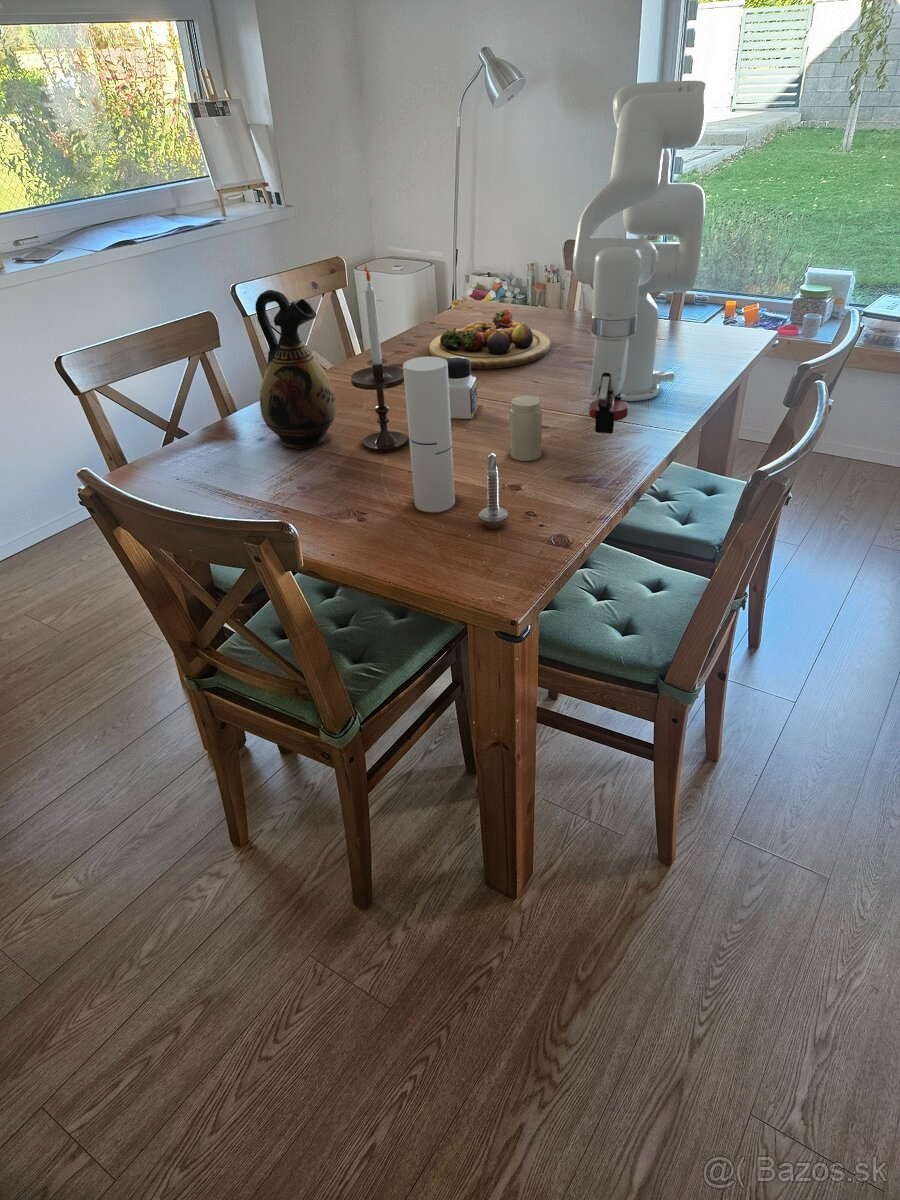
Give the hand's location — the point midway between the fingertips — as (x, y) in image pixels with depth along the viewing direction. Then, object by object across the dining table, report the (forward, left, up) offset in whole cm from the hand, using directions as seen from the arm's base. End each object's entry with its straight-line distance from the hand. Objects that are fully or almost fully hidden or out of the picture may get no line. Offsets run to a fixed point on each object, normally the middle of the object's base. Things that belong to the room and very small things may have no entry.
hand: (607, 424), depth 150 cm
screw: (+26, +17, -8) cm, 32 cm away
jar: (+13, -9, -8) cm, 18 cm away
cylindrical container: (+34, +6, -8) cm, 35 cm away
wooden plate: (+4, -76, -8) cm, 77 cm away
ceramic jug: (+56, -31, -8) cm, 65 cm away
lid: (0, 0, +3) cm, 3 cm away
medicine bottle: (+21, -35, -8) cm, 42 cm away
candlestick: (+39, -23, -8) cm, 46 cm away
